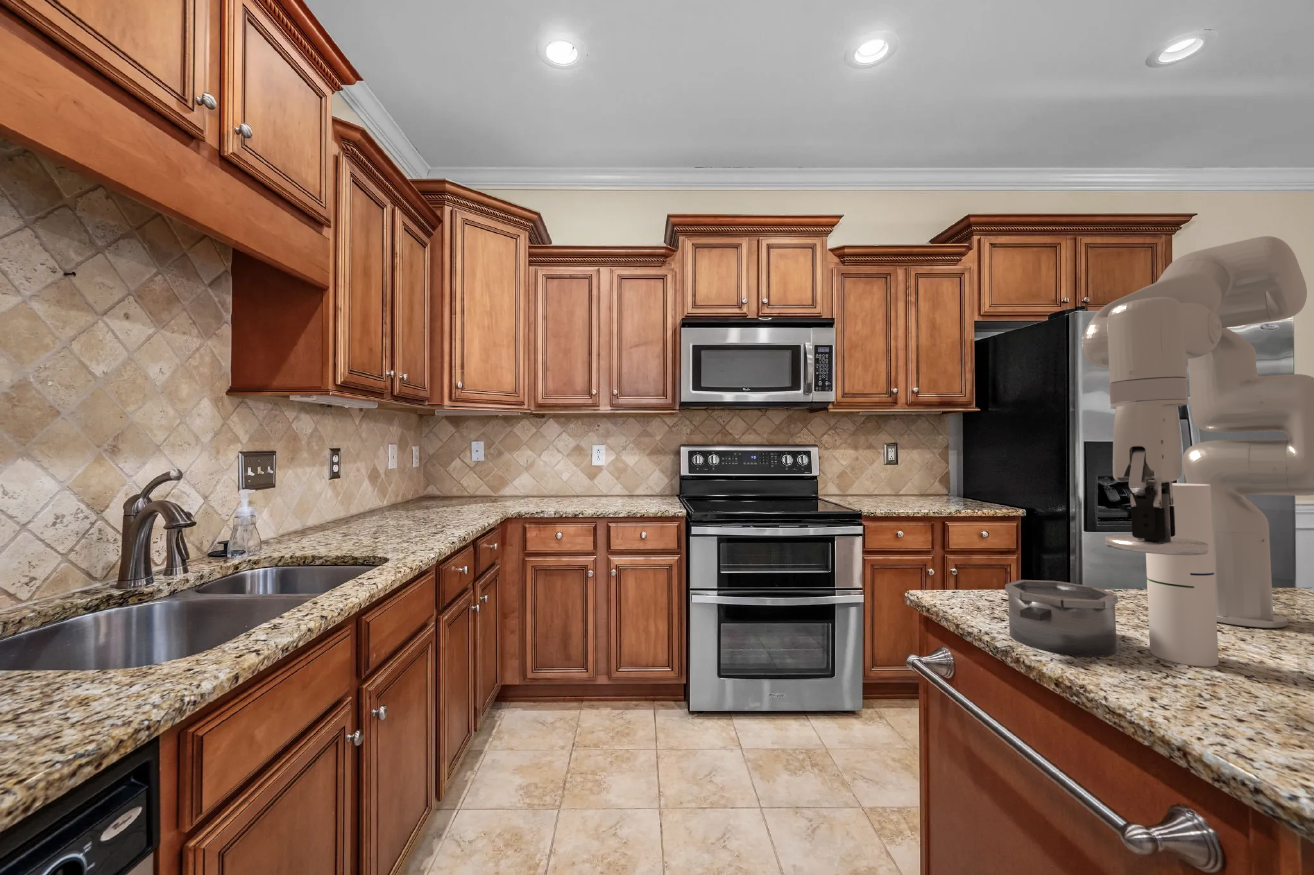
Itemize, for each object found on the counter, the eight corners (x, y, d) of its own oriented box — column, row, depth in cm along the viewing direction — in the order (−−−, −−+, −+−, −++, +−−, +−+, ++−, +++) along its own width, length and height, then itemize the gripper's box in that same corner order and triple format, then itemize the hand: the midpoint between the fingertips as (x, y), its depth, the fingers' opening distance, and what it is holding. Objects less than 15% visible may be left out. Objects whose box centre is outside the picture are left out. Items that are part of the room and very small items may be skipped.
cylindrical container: (1233, 668, 75) (1224, 485, 76) (1172, 664, 76) (1164, 485, 77) (1193, 649, 82) (1185, 483, 83) (1138, 647, 83) (1131, 483, 84)
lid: (1119, 539, 77) (1117, 490, 77) (1217, 549, 69) (1214, 493, 69) (1093, 547, 72) (1091, 494, 72) (1196, 558, 64) (1193, 498, 64)
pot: (1040, 618, 98) (1038, 573, 98) (1138, 639, 87) (1136, 588, 87) (982, 642, 86) (980, 591, 86) (1087, 670, 75) (1085, 611, 75)
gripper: (1131, 400, 79) (1137, 528, 78) (1088, 395, 69) (1094, 540, 69) (1203, 395, 72) (1210, 534, 72) (1167, 389, 63) (1174, 548, 63)
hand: (1153, 535), depth 70 cm, fingers closed on lid, 3 cm apart
